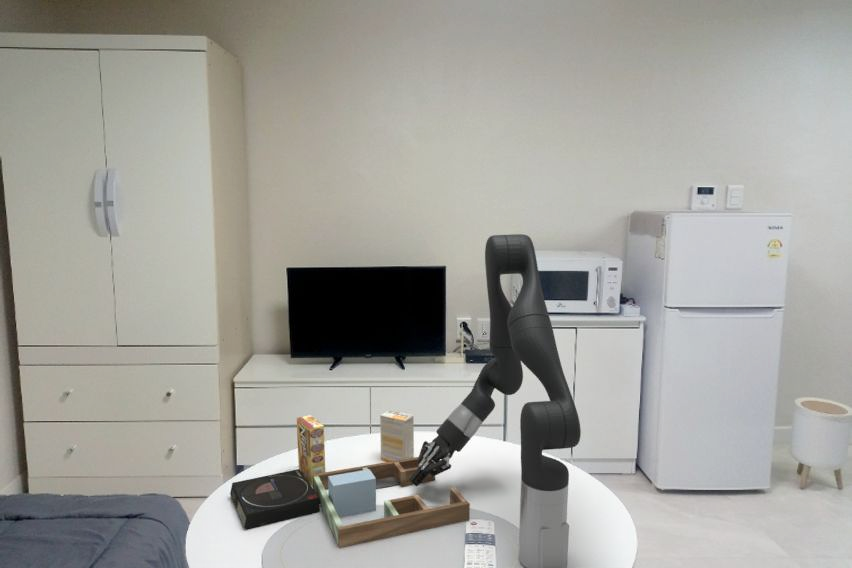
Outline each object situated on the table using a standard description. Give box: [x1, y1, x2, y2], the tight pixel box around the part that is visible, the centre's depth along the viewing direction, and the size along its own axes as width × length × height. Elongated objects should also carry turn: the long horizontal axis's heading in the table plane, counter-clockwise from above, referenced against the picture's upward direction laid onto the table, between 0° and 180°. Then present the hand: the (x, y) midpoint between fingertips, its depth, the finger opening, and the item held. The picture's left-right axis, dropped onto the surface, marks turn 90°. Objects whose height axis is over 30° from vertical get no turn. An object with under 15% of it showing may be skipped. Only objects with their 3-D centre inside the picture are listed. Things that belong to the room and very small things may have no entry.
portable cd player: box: [229, 468, 321, 531], centre depth 147 cm, size 16×17×4 cm
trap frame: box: [312, 456, 471, 549], centre depth 147 cm, size 27×30×4 cm
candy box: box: [296, 414, 326, 487], centre depth 159 cm, size 9×4×15 cm, turn 33°
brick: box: [327, 469, 377, 518], centre depth 144 cm, size 5×10×8 cm, turn 112°
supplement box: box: [379, 409, 415, 462], centre depth 170 cm, size 8×5×13 cm, turn 58°
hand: (412, 483), depth 150 cm, fingers closed
